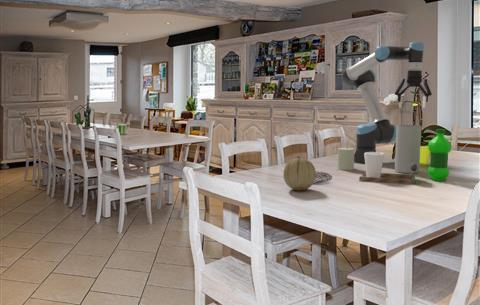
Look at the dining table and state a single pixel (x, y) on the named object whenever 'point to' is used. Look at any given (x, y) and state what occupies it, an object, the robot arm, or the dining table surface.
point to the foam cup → (373, 163)
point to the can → (345, 158)
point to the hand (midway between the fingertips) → (412, 107)
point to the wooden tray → (391, 176)
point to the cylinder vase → (407, 148)
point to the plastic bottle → (439, 156)
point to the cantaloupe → (299, 174)
